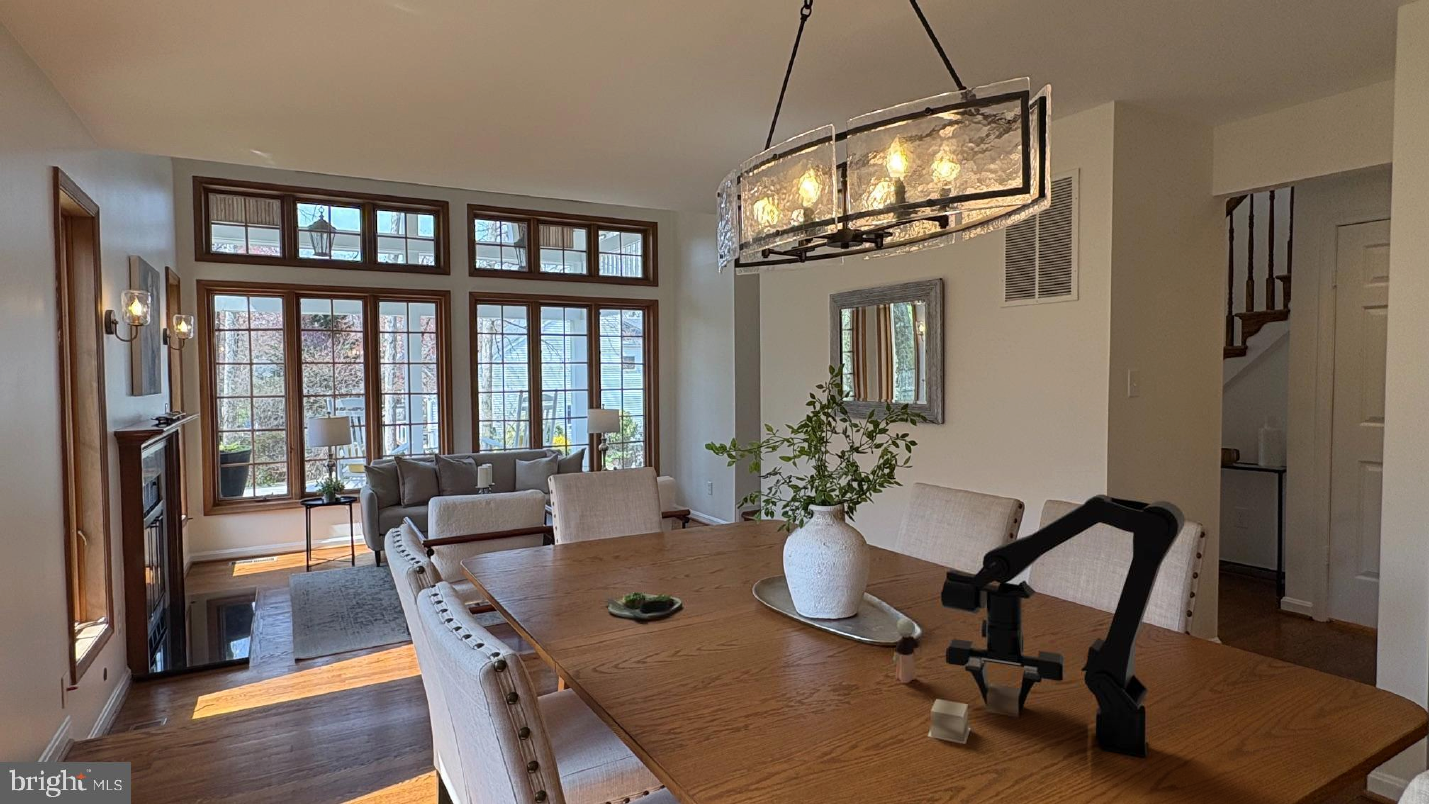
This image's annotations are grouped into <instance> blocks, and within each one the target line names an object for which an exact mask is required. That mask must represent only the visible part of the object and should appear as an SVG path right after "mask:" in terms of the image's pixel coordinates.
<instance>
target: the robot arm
mask: <svg viewBox="0 0 1429 804" xmlns="http://www.w3.org/2000/svg"><path fill="white" fill-rule="evenodd" d="M1185 522H1186V520H1185V516H1184V514H1183V512H1182V510H1181V508H1179V507H1178V505H1176V504H1173V503H1172V502H1169V501H1165V500H1160V501H1159V500H1157V501H1154V502H1151V503H1149V502H1145V501H1141V500H1132V499H1127V498H1126V499H1125V498H1124V499H1123V498H1120V497H1119V498H1117V497H1113V496H1109V495H1107V494H1096V495H1094V496H1092V497H1090V498H1088V499H1087V500H1086V501H1085V502H1084V503H1083V504H1081V505H1079V506H1078V507H1076V508H1074V509H1073V510H1071V511H1070V512H1068V513H1066V514H1065V515H1062V516H1060V517H1059V518H1057V519H1055V520H1054V521H1052V522H1051V523H1049V524H1048V525H1045V526H1044V527H1042V528H1040V529H1039V530H1037V531H1035V532H1034V533H1032V534H1029V535H1026V536H1023V537H1019V538H1017V539H1014V540H1011V541H1008V542H1006V543H1002V544H1000V545H998V546H997V547H995V548H993V549H990V550H989V551H987V552H986V553H985V554H984V556H983V559H982V567H981V568H980V569H979V570H978V572H977V573H975V574H973V573H966V572H962V571H959V570H955V569H950V570H948V571H947V572H946V576H945V577H946V578H945V580H944V582H943V586H942V590H941V592H940V600H941V604H942V606H943V608H944V609H949V610H955V611H959V612H960V611H961V612H964V613H970V614H978V613H980V611H981V610H983V609H986V619H982V623H981V638H984V639H986V649H983V648H981V649H980V648H974V647H975V646H974V641H972V640H964V639H957V638H953V639H952V640H951V641H949V643H948V645H947V647H946V649H945V663H947V664H949V665H954V666H961V667H964V670H965V672H968V673H969V672H970V673H971V675H972V677H973V679H974V681H975V683H976V684H977V686H978V689H979V692H980V694H981V696H982V699H983V701H984V704H985V706H986V707H987V692H988V689H989V682H988V670H987V669H988V668H987V665H988V664H987V663H995V664H1000V665H1006V666H1007V665H1008V666H1015V667H1019V668H1024V669H1023V670H1024V671H1023V674H1022V679H1021V686H1020V688H1021V692H1020V698H1019V713H1020V712H1022V711H1023V709H1024V705H1025V703H1026V701H1027V697H1028V696H1029V693H1030V691H1031V690H1032V688H1033V686H1034V684H1035V683H1042V681H1043V679H1044V680H1051V681H1057V682H1060V681H1063V680H1064V671H1065V665H1064V664H1065V662H1064V661H1065V658H1064V657H1063V656H1062V654H1061V653H1057V652H1049V651H1042V650H1038V655H1037V656H1032V655H1031V656H1030V655H1024V654H1023V653H1024V651H1025V650H1024V647H1025V646H1024V644H1025V643H1024V638H1025V637H1024V634H1023V633H1024V632H1023V599H1028V600H1029V599H1030V598H1031V597H1033V596H1034V595H1036V590H1034V589H1033V587H1031V586H1030V585H1029V584H1028V583H1027V581H1026V580H1022V581H1021V582H1019V583H1018V584H1017V583H1011V582H1010V581H1012V580H1013V579H1015V578H1017V577H1018V576H1020V575H1021V574H1023V573H1024V572H1025V571H1026V570H1027V569H1028V568H1029V567H1031V566H1032V565H1033V564H1034V563H1035V562H1036V561H1037V560H1038V559H1040V558H1041V557H1042V556H1043V555H1044V554H1046V553H1047V552H1049V551H1051V550H1053V549H1055V548H1056V547H1058V546H1060V545H1061V544H1063V543H1065V542H1067V541H1069V540H1070V539H1072V538H1074V537H1076V536H1077V535H1080V534H1081V533H1083V532H1084V531H1087V530H1088V529H1091V528H1092V527H1094V526H1096V525H1097V524H1103V525H1104V524H1105V525H1107V526H1111V527H1113V528H1116V529H1118V530H1122V531H1124V532H1128V533H1132V534H1133V535H1132V560H1131V562H1130V566H1129V569H1128V572H1127V574H1126V577H1125V581H1124V584H1123V586H1122V589H1121V592H1120V596H1119V599H1118V602H1117V605H1116V608H1115V611H1114V615H1113V617H1112V620H1111V624H1110V626H1109V630H1108V631H1107V632H1108V633H1107V635H1106V638H1105V640H1104V639H1102V638H1100V637H1097V638H1096V639H1095V640H1094V641H1093V642H1092V644H1091V645H1090V646H1089V647H1088V652H1087V657H1086V658H1087V659H1086V662H1085V664H1084V666H1083V667H1082V668H1081V671H1082V672H1085V674H1084V684H1085V686H1086V687H1087V689H1088V691H1089V692H1090V693H1092V695H1094V698H1095V700H1096V703H1097V705H1098V708H1096V709H1095V740H1097V741H1098V746H1099V749H1100V750H1105V751H1109V752H1115V753H1121V754H1126V755H1131V756H1137V757H1140V758H1141V757H1142V758H1147V757H1148V752H1147V745H1146V729H1147V728H1146V727H1147V726H1146V723H1147V721H1146V720H1147V719H1146V718H1147V713H1146V707H1145V705H1142V704H1143V703H1144V701H1145V700H1146V698H1147V695H1148V693H1149V689H1148V688H1147V686H1146V685H1144V684H1143V682H1141V680H1140V679H1139V678H1138V676H1136V674H1134V669H1135V660H1136V650H1135V649H1136V640H1137V637H1138V635H1139V632H1140V628H1141V625H1142V622H1143V619H1144V617H1145V613H1146V612H1147V607H1148V605H1149V602H1150V600H1151V599H1150V598H1151V596H1152V593H1153V590H1154V588H1155V583H1156V581H1157V578H1158V575H1159V572H1160V569H1161V566H1162V563H1163V562H1164V560H1165V559H1166V557H1167V555H1168V553H1169V552H1170V550H1172V547H1173V545H1174V544H1175V543H1176V540H1177V539H1178V537H1179V536H1180V534H1181V532H1182V530H1183V529H1184V527H1185V524H1186V523H1185ZM994 582H996V583H998V585H997V584H996V585H994V584H991V583H994Z"/></svg>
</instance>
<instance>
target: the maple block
mask: <svg viewBox="0 0 1429 804" xmlns="http://www.w3.org/2000/svg"><path fill="white" fill-rule="evenodd" d="M968 707H969V705H968V703H962V702H955V701H950V700H946V699H945V700H944V699H939V698H936V699H935V701H934V703H933V705H932V707H931V710H930V730H931V736H936V737H941V738H946V739H951V740H956V741H961V742H963V741H964V738H965V735H966V732H967V729H968V728H969V727H968V726H969V723H968V722H969V719H968V718H969V716H968V714H969V713H968V712H969V708H968Z"/></svg>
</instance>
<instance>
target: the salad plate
mask: <svg viewBox="0 0 1429 804" xmlns="http://www.w3.org/2000/svg"><path fill="white" fill-rule="evenodd" d="M621 596H622V599H620V600H618V601H615V600H613V599H611V598H607V599H605V600H604V602H605V603H606V605H609V606H608V610H609V612H610V613H611V614H613V615H616V616H618V617H622V618H628V619H634V620H638V621H639V620H641V621H654V620H662V619H665V618H667V617H670V616H671V615H673V614H675V613H677V612H678V611H679V610H680V609H681V608H682V607H683V601H682V600H681V599H680V598H678V597H674V596H673V597H671V596H669V595H666V594H663V595H662V594H658V595H654V594H646V593H642V592H635V591H633V592H631V593H630V594H626V595H625V594H624V593H623V594H622V595H621Z"/></svg>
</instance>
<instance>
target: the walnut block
mask: <svg viewBox="0 0 1429 804" xmlns="http://www.w3.org/2000/svg"><path fill="white" fill-rule="evenodd" d="M1020 692H1021V687H1016V686H1012V685H1011V686H1010V685H1004V684H998V683H992V682H990V683H989V685H988V692H987V706H986V713H991V714H992V713H993V714H998V715H1002V716H1003V715H1004V716H1009V717H1014V718H1018V717H1019V714H1020V711H1019V698H1020Z"/></svg>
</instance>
